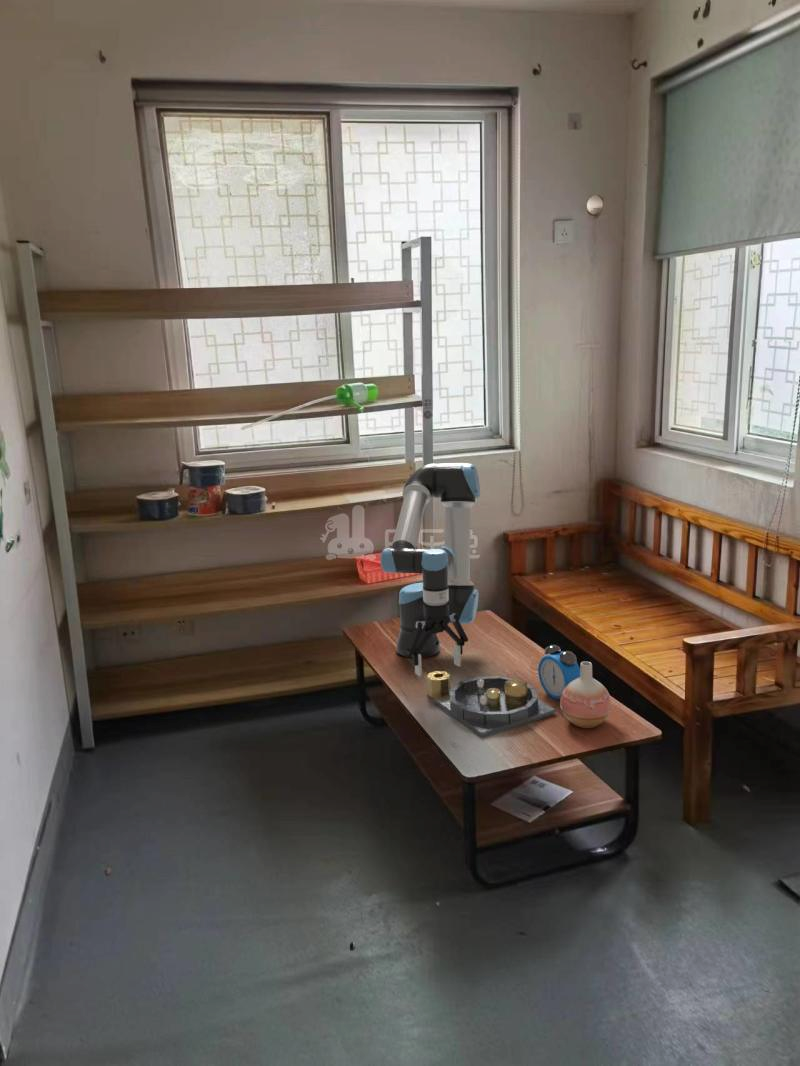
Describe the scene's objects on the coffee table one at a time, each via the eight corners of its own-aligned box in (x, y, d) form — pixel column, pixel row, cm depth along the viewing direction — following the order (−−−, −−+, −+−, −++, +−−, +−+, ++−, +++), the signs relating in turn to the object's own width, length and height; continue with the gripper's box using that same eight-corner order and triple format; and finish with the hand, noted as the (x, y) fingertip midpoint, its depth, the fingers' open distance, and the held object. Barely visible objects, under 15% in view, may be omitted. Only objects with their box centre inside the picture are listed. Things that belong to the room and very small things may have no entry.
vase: (579, 739, 211) (580, 677, 207) (550, 718, 223) (550, 659, 219) (621, 727, 216) (623, 667, 212) (590, 707, 228) (591, 650, 224)
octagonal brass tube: (424, 692, 243) (423, 674, 241) (442, 687, 246) (442, 669, 244) (435, 700, 237) (434, 681, 236) (454, 695, 240) (453, 676, 239)
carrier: (434, 703, 236) (433, 679, 234) (503, 683, 247) (503, 660, 245) (481, 737, 214) (481, 712, 212) (555, 714, 225) (555, 689, 224)
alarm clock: (537, 690, 241) (537, 644, 237) (553, 685, 244) (553, 639, 240) (566, 707, 230) (567, 658, 226) (583, 701, 232) (583, 653, 229)
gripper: (405, 613, 226) (407, 683, 230) (478, 597, 237) (479, 664, 242) (392, 606, 232) (395, 674, 237) (464, 591, 243) (466, 657, 248)
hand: (438, 670), depth 239 cm, fingers open, 13 cm apart
